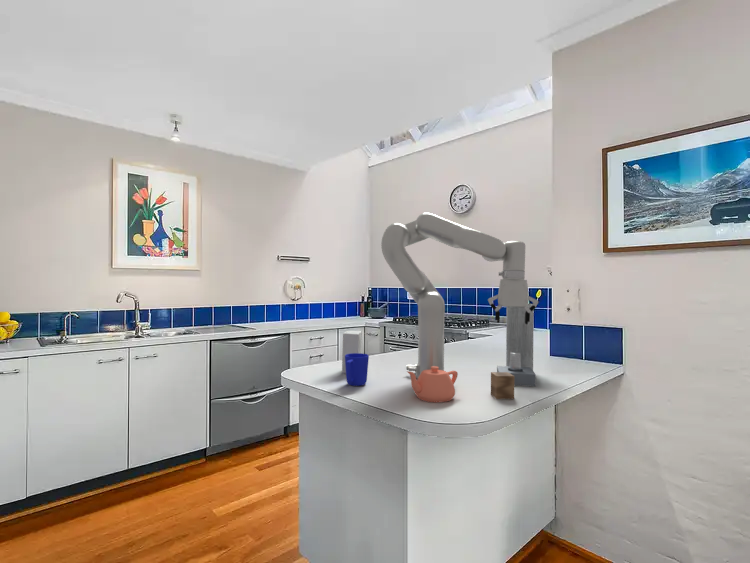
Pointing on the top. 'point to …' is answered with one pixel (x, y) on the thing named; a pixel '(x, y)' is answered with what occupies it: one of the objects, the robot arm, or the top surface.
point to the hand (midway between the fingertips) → (512, 323)
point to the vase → (519, 335)
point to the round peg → (515, 362)
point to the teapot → (434, 385)
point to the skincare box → (350, 345)
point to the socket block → (521, 375)
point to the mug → (356, 368)
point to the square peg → (502, 385)
